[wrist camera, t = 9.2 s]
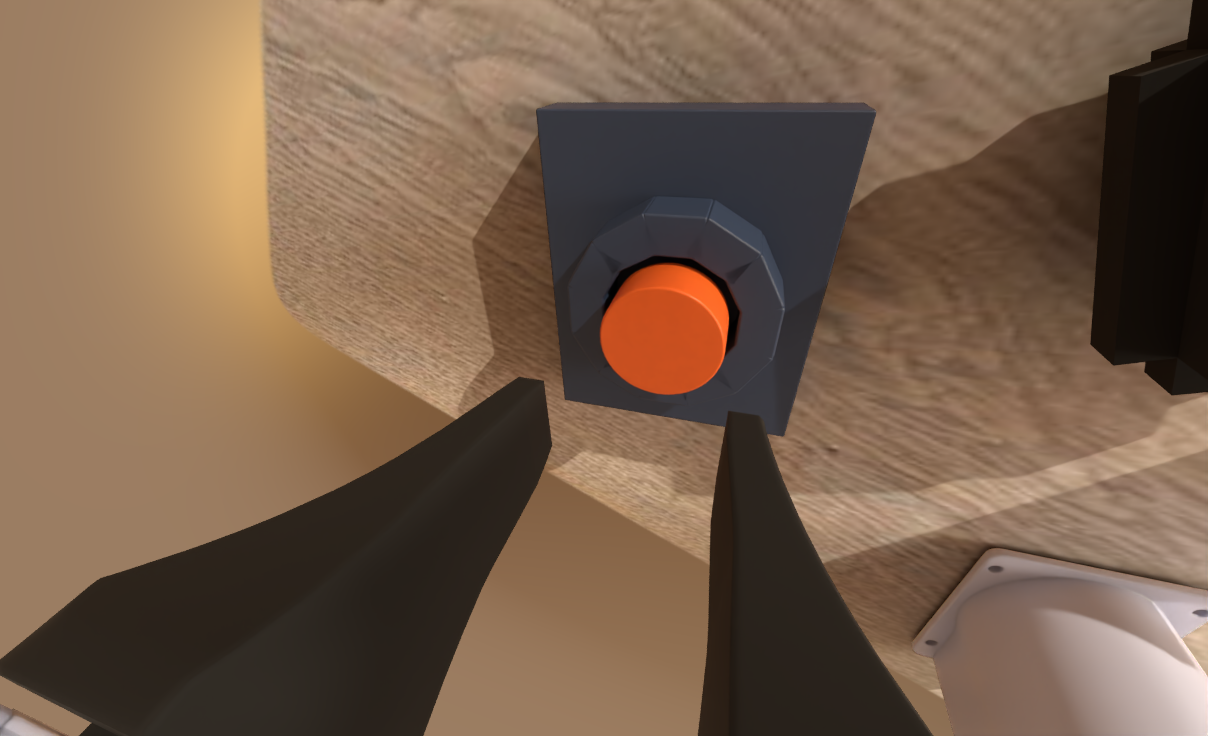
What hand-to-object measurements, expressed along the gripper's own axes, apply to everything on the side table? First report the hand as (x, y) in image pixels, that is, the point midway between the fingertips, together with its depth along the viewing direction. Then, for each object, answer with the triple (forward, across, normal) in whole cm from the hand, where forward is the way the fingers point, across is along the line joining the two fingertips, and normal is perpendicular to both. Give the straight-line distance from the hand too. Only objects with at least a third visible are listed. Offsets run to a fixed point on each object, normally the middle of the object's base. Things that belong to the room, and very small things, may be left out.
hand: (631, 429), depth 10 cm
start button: (+5, 0, 0) cm, 5 cm away
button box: (+8, 0, 0) cm, 8 cm away
